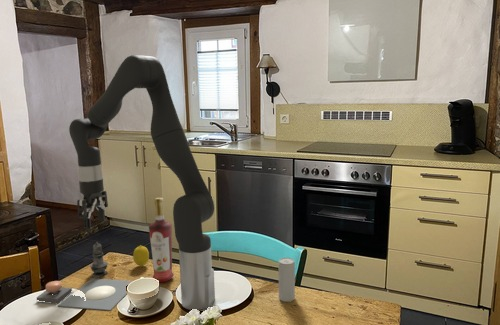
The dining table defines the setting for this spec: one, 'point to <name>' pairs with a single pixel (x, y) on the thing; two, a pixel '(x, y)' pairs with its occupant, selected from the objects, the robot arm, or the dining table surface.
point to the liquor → (161, 244)
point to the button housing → (54, 298)
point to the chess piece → (98, 262)
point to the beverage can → (286, 279)
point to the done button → (53, 286)
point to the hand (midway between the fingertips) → (94, 224)
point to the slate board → (98, 295)
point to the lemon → (141, 255)
